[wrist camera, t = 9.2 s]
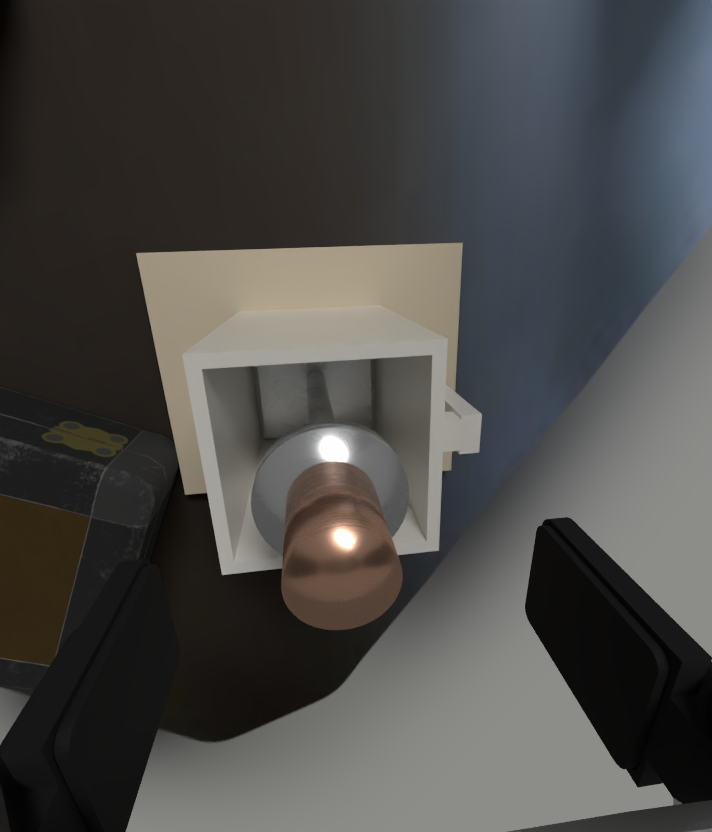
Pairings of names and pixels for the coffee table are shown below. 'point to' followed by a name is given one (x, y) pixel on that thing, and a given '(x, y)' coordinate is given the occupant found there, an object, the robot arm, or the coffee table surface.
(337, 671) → the coffee table surface
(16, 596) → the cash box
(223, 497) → the square white mug
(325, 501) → the plunger
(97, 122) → the coffee table surface
